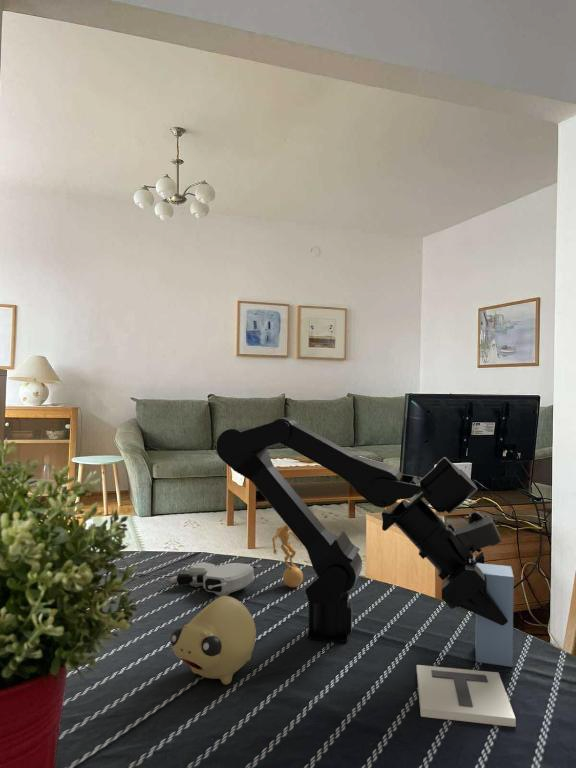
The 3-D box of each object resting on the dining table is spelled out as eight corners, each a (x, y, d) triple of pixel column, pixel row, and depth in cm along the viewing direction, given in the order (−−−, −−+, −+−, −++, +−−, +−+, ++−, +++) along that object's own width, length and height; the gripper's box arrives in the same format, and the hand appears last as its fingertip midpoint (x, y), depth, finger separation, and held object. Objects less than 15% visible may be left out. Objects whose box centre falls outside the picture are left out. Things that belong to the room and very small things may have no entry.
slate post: (475, 661, 85) (477, 573, 85) (475, 646, 89) (476, 563, 89) (512, 667, 83) (513, 577, 83) (509, 651, 88) (511, 566, 88)
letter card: (420, 716, 71) (420, 706, 71) (416, 671, 81) (416, 663, 81) (515, 726, 69) (515, 716, 69) (498, 679, 80) (498, 671, 80)
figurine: (287, 595, 110) (288, 532, 110) (263, 587, 114) (264, 526, 114) (313, 583, 116) (314, 524, 116) (290, 576, 120) (291, 519, 120)
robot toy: (165, 595, 112) (229, 605, 104) (164, 571, 112) (227, 580, 105) (204, 577, 122) (264, 584, 115) (203, 555, 123) (263, 561, 115)
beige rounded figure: (156, 687, 77) (157, 607, 77) (212, 651, 87) (213, 580, 87) (216, 709, 72) (217, 623, 72) (267, 668, 82) (268, 593, 82)
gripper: (468, 511, 78) (555, 602, 75) (467, 487, 96) (538, 560, 93) (408, 563, 81) (490, 654, 78) (418, 530, 99) (485, 603, 95)
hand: (503, 613), depth 86 cm, fingers open, 7 cm apart
